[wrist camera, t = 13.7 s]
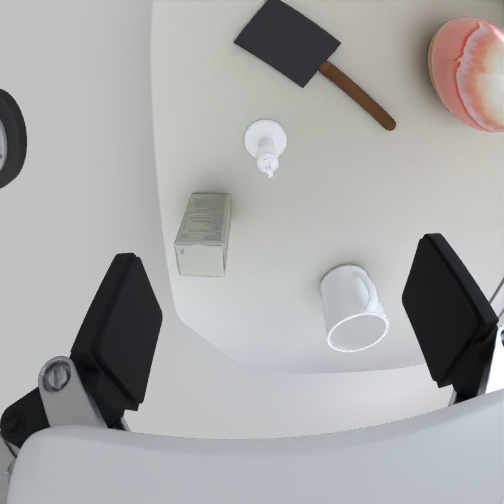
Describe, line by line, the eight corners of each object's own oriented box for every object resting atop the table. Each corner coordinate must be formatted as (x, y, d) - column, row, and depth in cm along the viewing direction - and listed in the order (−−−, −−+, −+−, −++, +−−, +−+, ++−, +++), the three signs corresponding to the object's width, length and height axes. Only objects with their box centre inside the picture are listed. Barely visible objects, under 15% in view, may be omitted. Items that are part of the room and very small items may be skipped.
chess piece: (253, 164, 35) (251, 203, 27) (237, 127, 32) (230, 155, 24) (292, 151, 34) (304, 187, 26) (278, 113, 31) (286, 136, 23)
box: (193, 221, 40) (176, 276, 31) (191, 192, 37) (170, 243, 28) (232, 222, 40) (225, 278, 31) (232, 193, 37) (224, 244, 28)
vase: (482, 126, 29) (570, 184, 15) (404, 103, 29) (500, 156, 15) (493, 39, 21) (590, 64, 7) (412, 3, 21) (515, -7, 7)
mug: (358, 303, 49) (372, 352, 41) (310, 299, 49) (318, 351, 40) (383, 254, 43) (406, 303, 34) (330, 246, 42) (345, 299, 34)
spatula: (233, 42, 26) (232, 42, 25) (271, -4, 22) (272, -7, 21) (373, 146, 33) (378, 150, 31) (408, 107, 29) (413, 110, 28)
